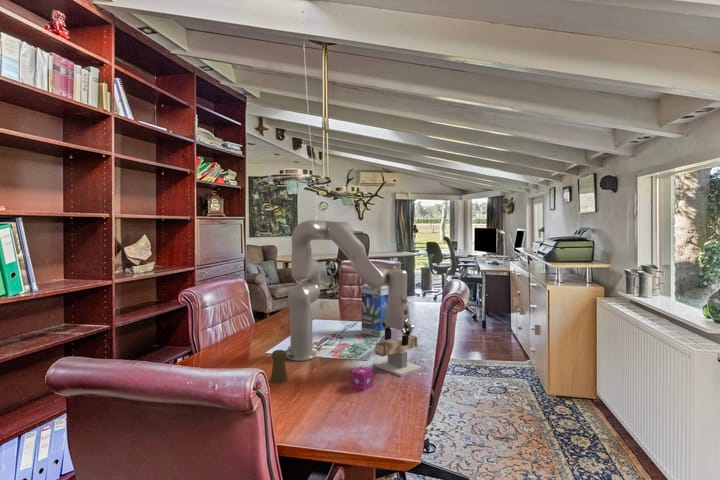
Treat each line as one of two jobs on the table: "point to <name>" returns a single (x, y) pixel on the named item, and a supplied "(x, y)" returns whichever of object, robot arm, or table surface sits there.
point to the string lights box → (373, 309)
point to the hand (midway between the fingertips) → (396, 342)
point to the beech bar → (394, 346)
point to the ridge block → (398, 364)
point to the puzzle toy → (362, 378)
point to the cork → (279, 367)
